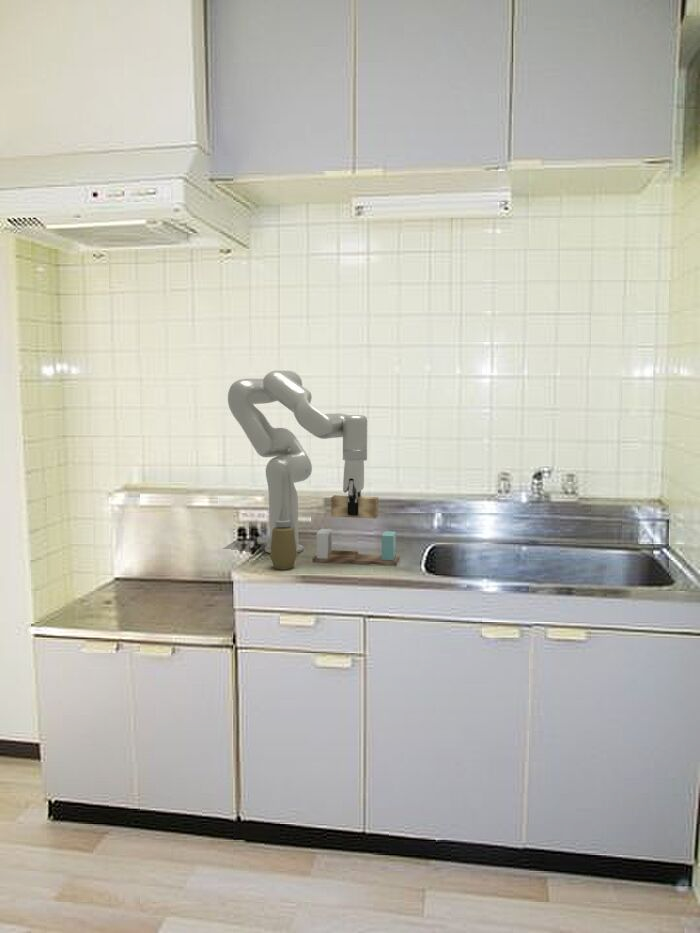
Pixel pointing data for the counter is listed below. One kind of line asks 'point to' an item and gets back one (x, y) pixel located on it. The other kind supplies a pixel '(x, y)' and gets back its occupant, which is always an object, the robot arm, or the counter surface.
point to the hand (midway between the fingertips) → (354, 513)
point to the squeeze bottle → (283, 543)
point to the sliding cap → (388, 545)
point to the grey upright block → (324, 543)
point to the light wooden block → (365, 507)
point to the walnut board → (355, 558)
